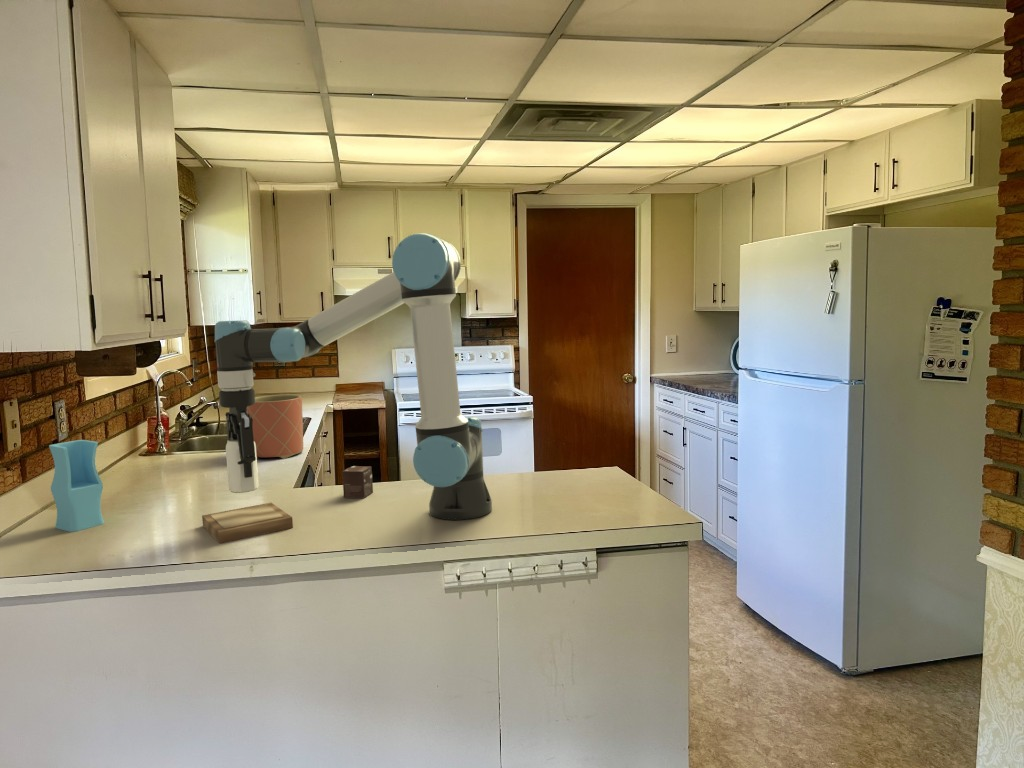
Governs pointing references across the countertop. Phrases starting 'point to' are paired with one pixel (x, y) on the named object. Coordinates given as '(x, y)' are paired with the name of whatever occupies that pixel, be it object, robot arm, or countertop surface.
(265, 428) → the planter
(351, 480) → the box
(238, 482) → the can
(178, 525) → the countertop surface
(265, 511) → the board
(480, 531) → the countertop surface
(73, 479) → the vase
